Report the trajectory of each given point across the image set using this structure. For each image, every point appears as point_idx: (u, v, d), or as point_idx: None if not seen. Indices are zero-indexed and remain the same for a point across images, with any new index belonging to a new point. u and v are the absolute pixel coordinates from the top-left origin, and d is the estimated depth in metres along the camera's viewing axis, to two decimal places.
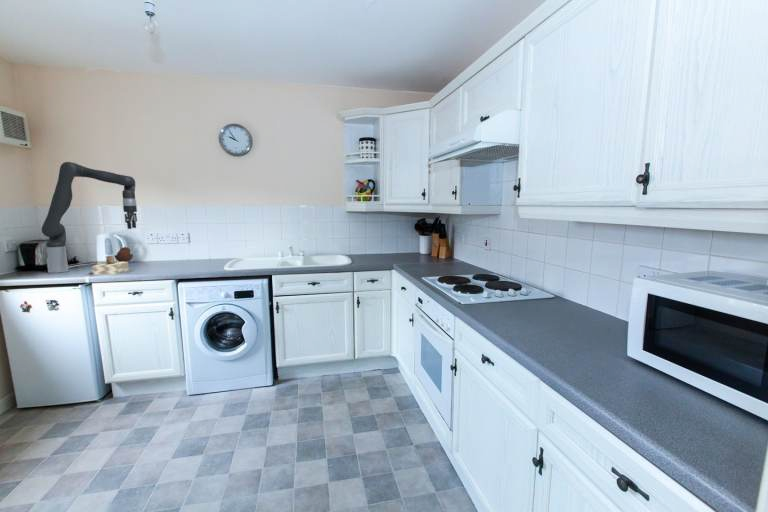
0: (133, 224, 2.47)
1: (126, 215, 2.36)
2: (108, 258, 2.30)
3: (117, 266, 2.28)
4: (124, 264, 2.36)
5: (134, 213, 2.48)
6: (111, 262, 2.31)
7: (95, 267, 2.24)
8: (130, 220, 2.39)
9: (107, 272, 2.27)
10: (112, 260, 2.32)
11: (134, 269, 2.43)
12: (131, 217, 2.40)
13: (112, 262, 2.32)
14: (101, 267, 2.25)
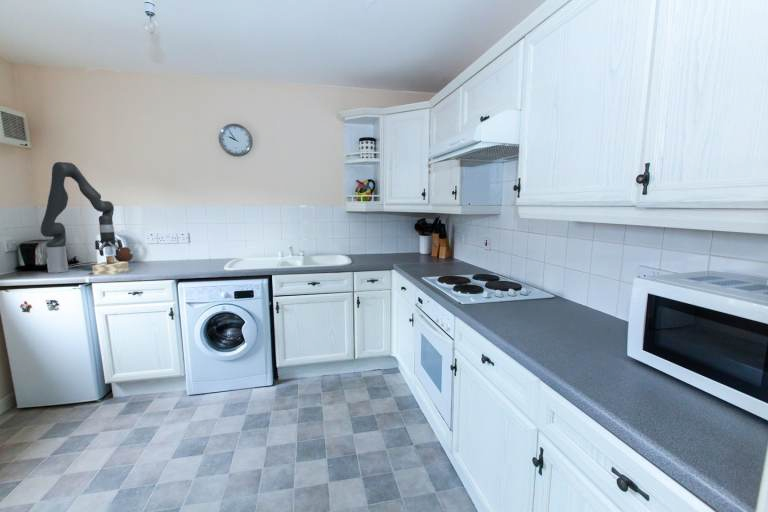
0: (102, 252, 2.30)
1: (120, 241, 2.32)
2: (108, 258, 2.30)
3: (117, 266, 2.28)
4: (124, 264, 2.36)
5: (97, 240, 2.29)
6: (111, 262, 2.31)
7: (95, 267, 2.24)
8: None
9: (107, 272, 2.27)
10: (112, 260, 2.32)
11: (134, 269, 2.43)
12: (114, 243, 2.32)
13: (112, 262, 2.32)
14: (101, 267, 2.25)
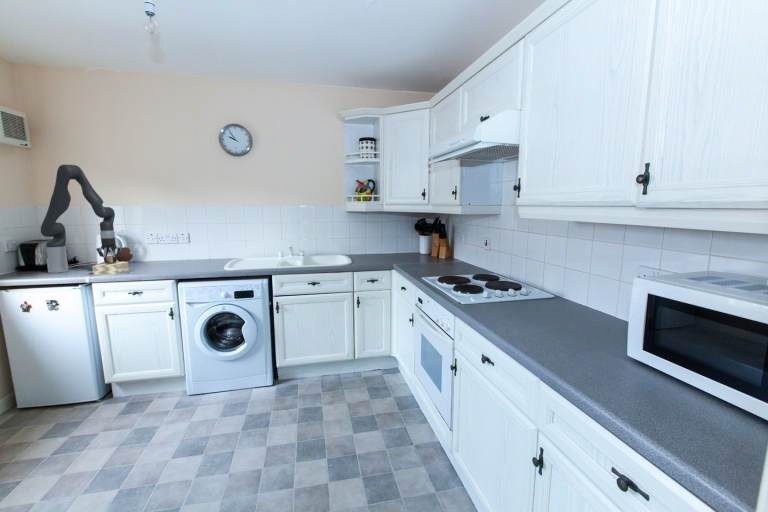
0: None
1: (120, 249, 2.33)
2: (108, 258, 2.30)
3: (117, 266, 2.28)
4: (124, 264, 2.36)
5: (98, 248, 2.30)
6: (111, 262, 2.31)
7: (95, 267, 2.24)
8: (115, 253, 2.33)
9: (107, 272, 2.27)
10: (112, 260, 2.32)
11: (134, 269, 2.43)
12: None
13: (112, 262, 2.32)
14: (101, 267, 2.25)
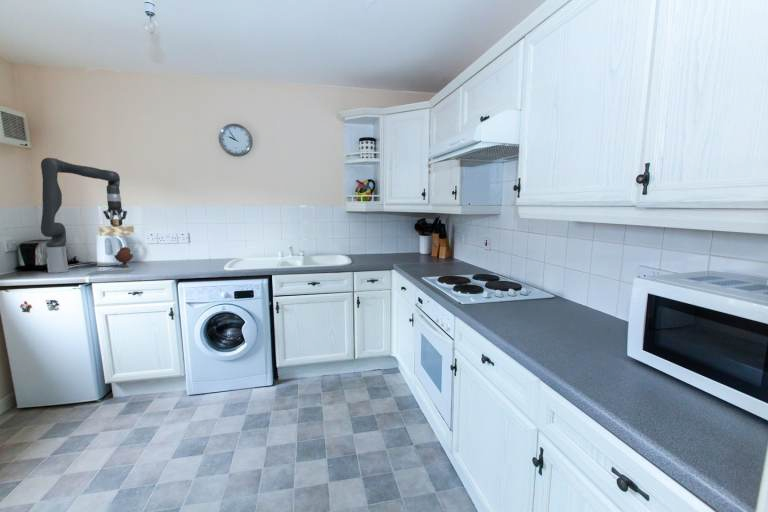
0: None
1: (126, 212, 2.41)
2: (114, 221, 2.39)
3: (123, 228, 2.36)
4: (129, 227, 2.45)
5: None
6: (117, 225, 2.40)
7: (102, 228, 2.33)
8: (121, 217, 2.42)
9: (113, 234, 2.35)
10: (118, 223, 2.40)
11: (134, 269, 2.43)
12: None
13: (118, 225, 2.40)
14: (107, 228, 2.34)
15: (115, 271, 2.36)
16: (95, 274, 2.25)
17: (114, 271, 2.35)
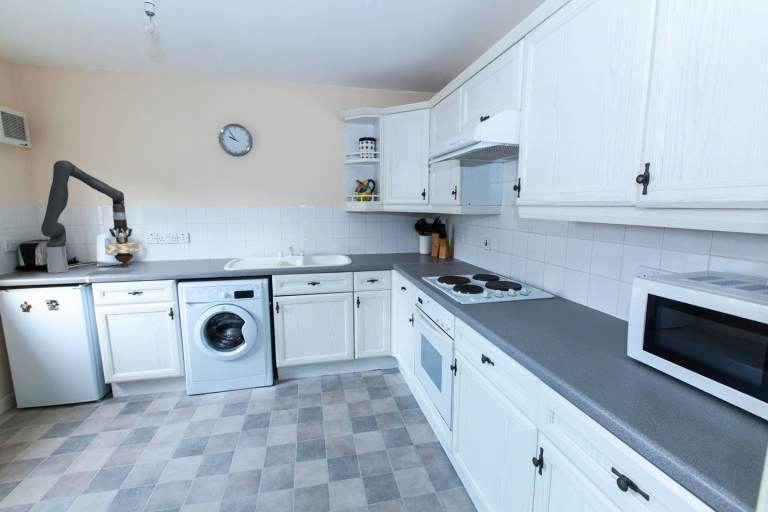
0: None
1: (131, 230, 2.49)
2: (120, 238, 2.46)
3: (128, 246, 2.44)
4: (135, 244, 2.52)
5: None
6: (123, 242, 2.47)
7: (108, 246, 2.40)
8: None
9: (119, 251, 2.42)
10: (124, 240, 2.48)
11: (134, 269, 2.43)
12: (125, 231, 2.49)
13: (124, 242, 2.48)
14: (114, 246, 2.41)
15: (115, 271, 2.36)
16: (95, 274, 2.25)
17: (114, 271, 2.35)
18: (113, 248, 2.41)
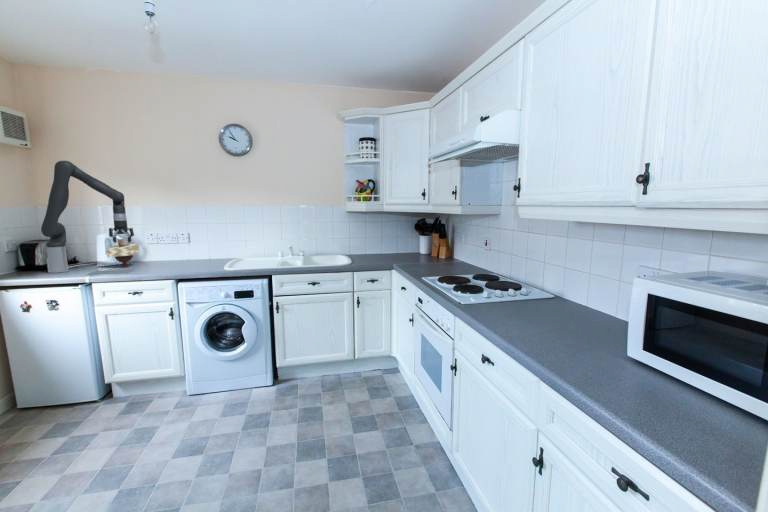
0: (115, 239, 2.47)
1: (132, 229, 2.49)
2: (120, 241, 2.46)
3: (129, 248, 2.44)
4: (135, 246, 2.52)
5: (111, 228, 2.46)
6: (123, 245, 2.47)
7: (109, 250, 2.41)
8: (129, 234, 2.50)
9: (120, 254, 2.43)
10: (123, 243, 2.48)
11: (134, 269, 2.43)
12: (126, 231, 2.49)
13: (124, 245, 2.48)
14: (114, 250, 2.41)
15: (115, 271, 2.36)
16: (95, 274, 2.25)
17: (114, 271, 2.35)
18: (114, 251, 2.42)
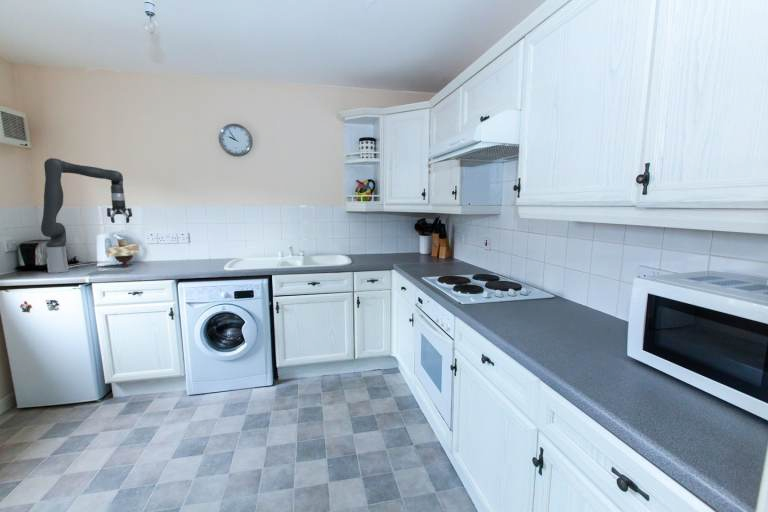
0: (113, 219, 2.45)
1: (130, 209, 2.47)
2: (120, 241, 2.46)
3: (129, 248, 2.44)
4: (135, 246, 2.52)
5: (109, 208, 2.44)
6: (123, 245, 2.47)
7: (109, 250, 2.41)
8: (127, 214, 2.48)
9: (120, 254, 2.43)
10: (124, 243, 2.48)
11: (134, 269, 2.43)
12: None
13: (124, 245, 2.48)
14: (114, 249, 2.41)
15: (115, 271, 2.36)
16: (95, 274, 2.25)
17: (114, 271, 2.35)
18: (114, 251, 2.42)
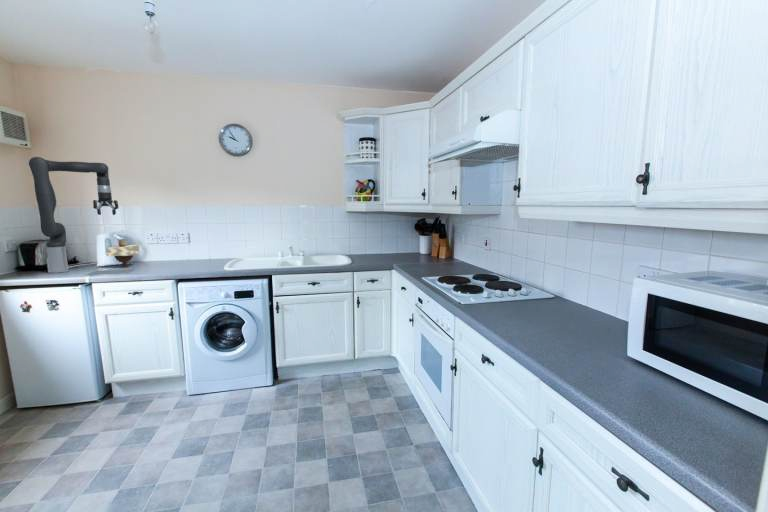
0: (99, 211, 2.47)
1: (116, 201, 2.49)
2: (120, 241, 2.46)
3: (129, 248, 2.44)
4: (135, 247, 2.52)
5: (95, 200, 2.46)
6: (123, 245, 2.47)
7: (108, 249, 2.40)
8: None
9: (120, 254, 2.43)
10: (124, 243, 2.48)
11: (134, 269, 2.43)
12: (111, 204, 2.49)
13: (124, 245, 2.48)
14: (114, 249, 2.41)
15: (115, 271, 2.36)
16: (95, 274, 2.25)
17: (114, 271, 2.35)
18: (113, 251, 2.41)
